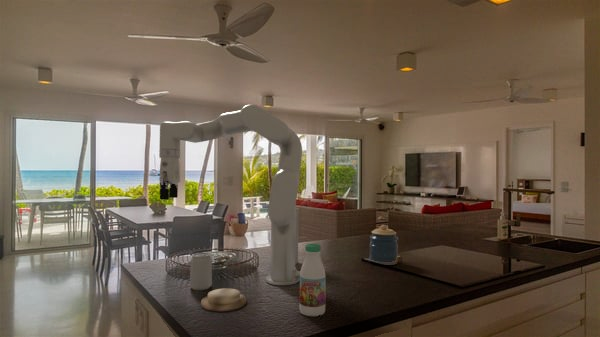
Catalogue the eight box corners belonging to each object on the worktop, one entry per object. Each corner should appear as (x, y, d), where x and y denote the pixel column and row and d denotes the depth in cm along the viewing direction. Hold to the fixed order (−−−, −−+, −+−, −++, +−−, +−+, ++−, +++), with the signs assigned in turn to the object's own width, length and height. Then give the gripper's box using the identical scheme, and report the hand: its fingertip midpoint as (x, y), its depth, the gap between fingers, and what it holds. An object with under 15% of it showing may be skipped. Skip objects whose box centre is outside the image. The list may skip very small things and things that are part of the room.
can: (205, 292, 127) (206, 257, 127) (185, 290, 128) (186, 255, 128) (215, 285, 134) (215, 252, 134) (196, 283, 136) (196, 251, 136)
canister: (401, 267, 164) (401, 227, 164) (371, 266, 164) (372, 226, 164) (394, 259, 177) (394, 223, 177) (367, 259, 177) (367, 222, 177)
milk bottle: (298, 307, 114) (299, 242, 114) (323, 307, 114) (324, 242, 114) (300, 317, 106) (301, 247, 106) (327, 316, 107) (328, 247, 107)
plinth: (250, 296, 123) (250, 287, 123) (241, 312, 109) (241, 301, 109) (208, 294, 124) (208, 285, 124) (194, 310, 110) (194, 300, 110)
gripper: (171, 153, 134) (170, 200, 134) (186, 155, 152) (185, 197, 152) (151, 153, 134) (150, 200, 134) (168, 155, 152) (167, 196, 152)
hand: (168, 198), depth 143 cm, fingers open, 9 cm apart
